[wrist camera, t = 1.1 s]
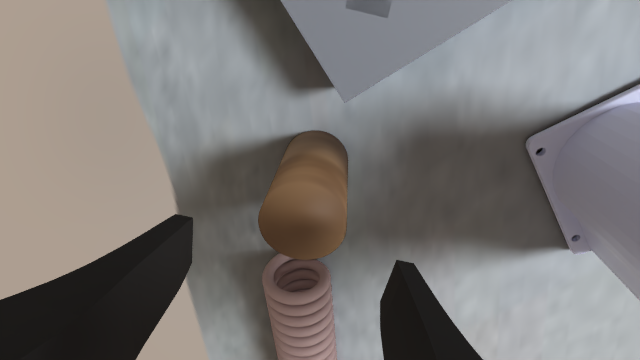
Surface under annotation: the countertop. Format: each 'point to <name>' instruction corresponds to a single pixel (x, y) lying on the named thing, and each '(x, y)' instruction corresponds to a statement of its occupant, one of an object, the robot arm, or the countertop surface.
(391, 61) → the bore block
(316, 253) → the walnut pin
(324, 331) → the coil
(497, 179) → the countertop surface
